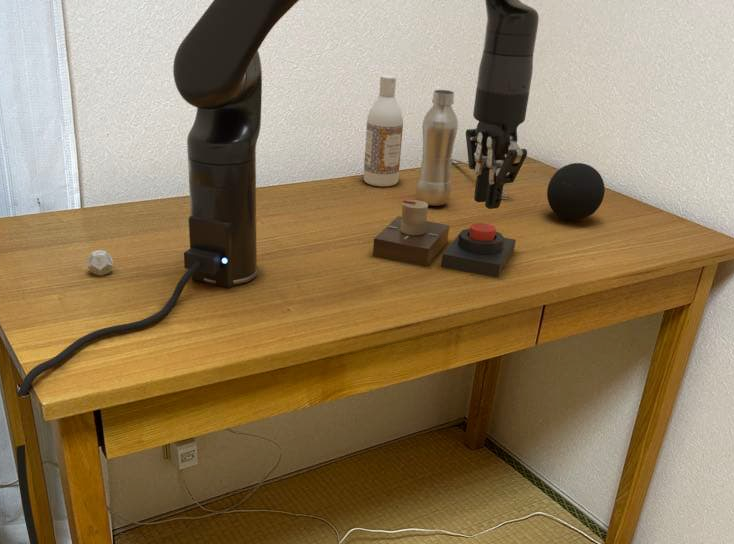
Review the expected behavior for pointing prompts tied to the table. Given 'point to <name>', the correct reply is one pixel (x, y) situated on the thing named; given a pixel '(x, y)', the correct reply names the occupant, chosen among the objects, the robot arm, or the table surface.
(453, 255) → the button housing
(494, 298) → the table surface
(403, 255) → the dial panel
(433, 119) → the plastic bottle
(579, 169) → the speaker
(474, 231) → the red push button
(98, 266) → the game die
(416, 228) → the lock dial
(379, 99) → the bath foam
